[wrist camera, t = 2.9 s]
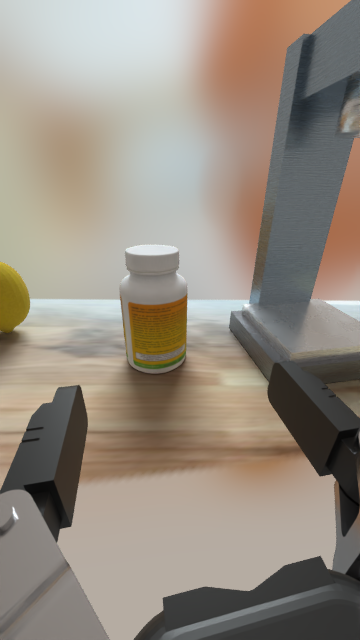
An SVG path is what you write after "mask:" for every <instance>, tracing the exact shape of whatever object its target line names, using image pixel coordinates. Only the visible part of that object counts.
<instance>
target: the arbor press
mask: <svg viewBox="0 0 360 640" xmlns="http://www.w3.org/2000/svg"><path fill="white" fill-rule="evenodd" d="M354 138H360V0H351V1H350V2H349V3H348V4H346V5H345V6H344V7H343V8H342V9H340V10H339V11H338V12H337V13H336V14H334V15H333V16H332V17H331V18H330V19H328V20H327V21H326V22H325V23H324V24H322V25H321V26H320V27H319V28H318V29H316V30H315V31H314V32H313V33H312V34H311V35H310V34H303V35H302V36H301V37H300V38H298V39H297V40H296V41H295V42H294V43H293V44H291V45H290V46H289V47H288V48H287V54H286V61H285V67H284V74H283V81H282V88H281V94H280V102H279V107H278V115H277V121H276V128H275V134H274V141H273V148H272V155H271V161H270V168H269V175H268V182H267V188H266V195H265V201H264V208H263V215H262V222H261V228H260V235H259V242H258V248H257V255H256V262H255V269H254V275H253V282H252V289H251V296H250V302H249V304H243V307H242V311H231V317H230V325H229V328H230V329H231V331H232V332H233V333H234V335H235V336H236V337H237V339H238V340H239V342H240V343H241V344H242V346H243V347H244V348H245V350H246V351H247V352H248V354H249V355H250V356H251V358H252V359H253V361H254V362H255V363H256V365H257V366H258V367H259V369H260V370H261V371H262V373H263V374H264V375H265V377H266V378H267V380H268V381H270V376H271V371H272V367H273V364H274V363H276V362H284V361H294V362H295V363H297V364H298V365H299V367H300V368H301V369H302V370H303V371H307V372H309V373H311V374H312V375H314V376H316V377H317V378H319V379H320V380H321V381H322V382H323V383H324V384H326V383H334V382H341V381H349V380H356V379H360V322H359V321H357V320H355V319H354V318H352V317H350V316H348V315H347V314H345V313H343V312H342V311H340V310H338V309H336V308H335V307H333V306H331V305H329V304H328V303H326V302H324V301H322V300H320V299H311V296H312V292H313V288H314V285H315V281H316V277H317V273H318V270H319V266H320V262H321V259H322V255H323V251H324V247H325V244H326V240H327V236H328V233H329V229H330V225H331V221H332V218H333V214H334V210H335V206H336V203H337V199H338V195H339V191H340V188H341V184H342V180H343V177H344V173H345V170H346V166H347V162H348V158H349V154H350V151H351V147H352V144H353V140H354Z"/></svg>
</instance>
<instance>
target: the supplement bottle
mask: <svg viewBox="0 0 360 640" xmlns="http://www.w3.org/2000/svg"><path fill="white" fill-rule="evenodd" d="M125 256H126V266H127V270H128V271H130V274H129V275H128V276H126V277H125V278H124V279H123V280H122V281H121V283H120V301H121V309H122V318H123V328H124V337H125V347H126V354H127V359H128V362H129V363H130V365H131V366H132V367H134V368H135V369H137V370H139V371H142V372H146V373H154V374H156V373H165V372H168V371H171V370H173V369H175V368H177V367H178V366H180V365H181V364H182V362H183V361H184V359H185V357H186V332H187V330H186V328H187V283H186V281H185V279H184V278H183V277H182V276H181V275H179V274H177V273H176V270H178V268H179V250H178V249H177V248H176V247H173V246H167V245H138V246H133V247H130V248H127V249H126V251H125Z"/></svg>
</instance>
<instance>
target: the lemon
mask: <svg viewBox="0 0 360 640" xmlns="http://www.w3.org/2000/svg"><path fill="white" fill-rule="evenodd" d="M29 309H30V298H29V293H28V290H27V287H26V285H25V283H24V281H23V280H22V278H21V276H20V275H19V274H18V273H17V271H15V270H14V269H13V268H12V267H10V266H8V265H7V264H5V263H2V262H0V331H2V332H5V333H10V332H12V331H13V329H14V328H15V327H16V326H17V325H19V324H20V323H21V322H23V321H24V319H25V318H26V316H27V314H28V312H29Z"/></svg>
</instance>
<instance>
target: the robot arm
mask: <svg viewBox="0 0 360 640" xmlns="http://www.w3.org/2000/svg"><path fill="white" fill-rule="evenodd" d="M268 398H269V401H270V403H271V405H272V406H273V408H274V409H275V411H276V412H277V414H278V415H279V417H280V418H281V420H282V421H283V423H284V424H285V426H286V427H287V429H288V430H289V432H290V433H291V435H292V436H293V437H294V439H295V440H296V442H297V443H298V445H299V446H300V448H301V449H302V451H303V452H304V454H305V455H306V457H307V458H308V460H309V461H310V462H311V464H312V466H313V467H314V469H315V470H316V472H317V473H318V474H319V476H325V475H330V474H333V476H334V477H335V478H336V481H335V484H334V492H335V514H336V536H337V537H336V539H337V540H336V550H335V554H334V559H333V569H332V570H330V569H327V568H326V566H325V564H324V562H323V560H322V558H321V557H320V556H319V557H315V558H311V559H307V560H303V561H300V562H296V563H292V564H288V565H285V566H283V567H282V568H281V569H280V570H278V571H277V572H276V573H274V574H273V575H272V576H270V577H269V578H268V579H267V580H265V581H264V582H263V583H262V584H260V585H259V586H258V587H256V588H255V589H253V590H251V591H240V590H230V589H221V588H212V587H202V588H198V589H194V590H190V591H187V592H183V593H179V594H175V595H172V596H168V597H164V598H163V606H164V610H163V611H162V612H161V613H159V614H158V615H156V616H155V617H154V618H153V619H152V620H151V621H149V622H148V623H147V624H146V625H145V626H144V627H143V629H142V630H141V631H140V632H139V633H138V635H137V636H136V637H135V638H134V640H360V418H359V417H358V416H357V415H356V414H355V413H354V412H353V411H352V410H351V409H350V408H348V407H347V406H346V405H345V404H344V403H343V402H342V401H341V400H340V399H339V398H338V397H336V395H335V394H334V393H333V392H332V391H331V390H330V389H328V387H327V386H326V385H325V384H324V383H323V382H322V381H321V380H320V379H319V378H317V377H316V376H314V375H312V374H311V373H309V372H307V371H303V370H302V369H301V368H300V367H299V365H298V364H297V363H295V362H294V361H284V362H276V363H274V364H273V367H272V371H271V376H270V381H269V385H268ZM87 427H88V419H87V412H86V407H85V403H84V399H83V394H82V390H81V387H80V385H76V386H68V387H59V388H58V389H57V391H56V393H55V396H54V399H53V402H52V403H45V404H42V405H41V406H40V407H39V409H38V410H37V411H36V412H35V413H34V414H33V415H32V417H31V419H30V422H29V424H28V426H27V429H26V432H25V433H24V436H23V438H22V443H20V445H19V448H18V450H17V452H16V455H15V457H14V459H13V462H12V464H11V467H10V469H9V471H8V474H7V476H6V478H5V481H4V483H3V486H2V488H1V490H0V640H110V639H109V637H108V635H107V634H106V632H105V630H104V628H103V626H102V624H101V622H100V621H99V619H98V617H97V615H96V613H95V612H94V609H93V608H92V606H91V604H90V602H89V600H88V598H87V596H86V595H85V593H84V591H83V589H82V588H81V585H80V583H79V582H78V580H77V578H76V576H75V574H74V573H73V571H72V569H71V567H70V565H69V564H68V563H67V561H66V559H65V558H64V556H63V554H62V552H61V550H60V549H59V547H58V545H57V541H58V535H59V530H60V529H62V528H66V527H71V525H72V519H73V513H74V506H75V501H76V494H77V489H78V483H79V477H80V471H81V465H82V459H83V453H84V447H85V441H86V435H87Z"/></svg>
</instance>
